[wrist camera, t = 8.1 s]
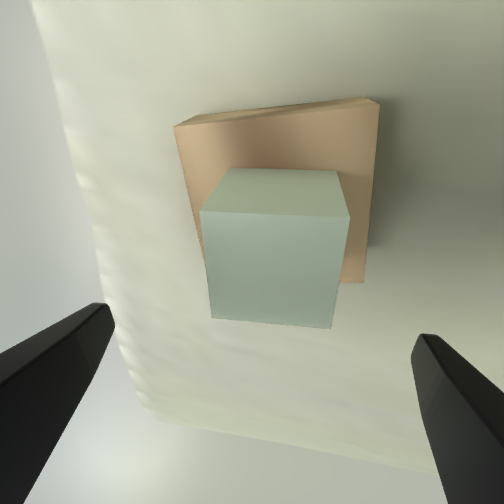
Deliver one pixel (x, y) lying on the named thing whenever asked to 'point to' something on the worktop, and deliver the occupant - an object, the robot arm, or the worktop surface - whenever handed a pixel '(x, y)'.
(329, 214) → the sage block
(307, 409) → the worktop surface
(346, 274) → the oak block
